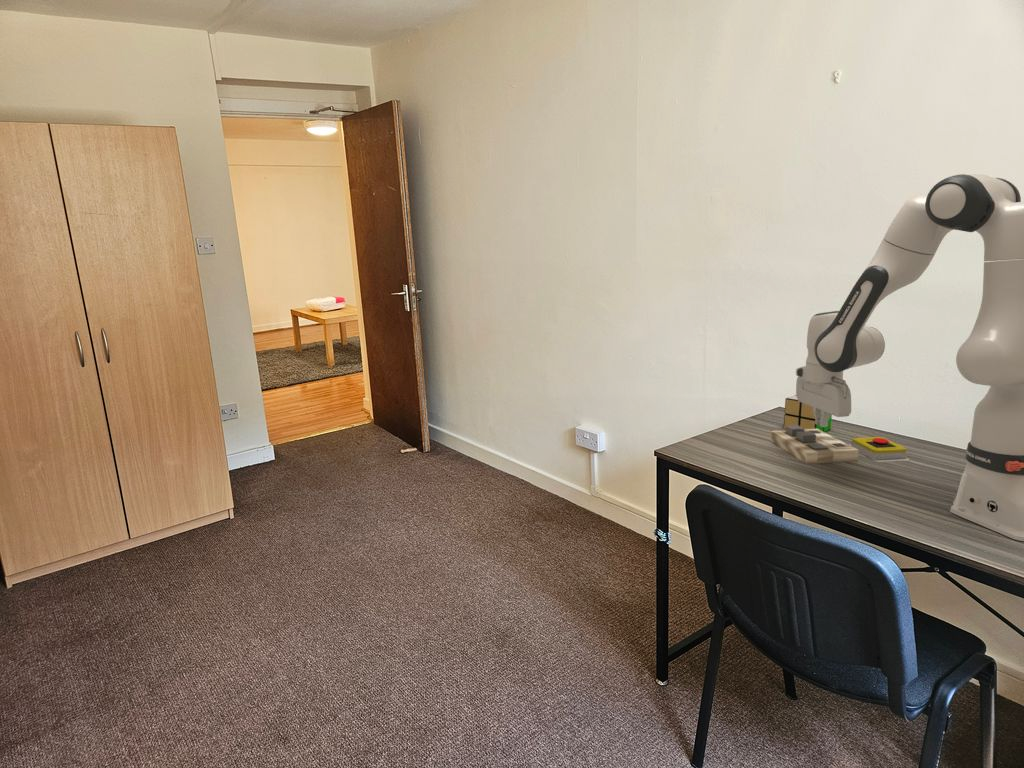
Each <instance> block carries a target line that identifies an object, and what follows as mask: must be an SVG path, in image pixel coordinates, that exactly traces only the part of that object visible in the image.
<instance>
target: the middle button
mask: <svg viewBox="0 0 1024 768" xmlns="http://www.w3.org/2000/svg"><path fill="white" fill-rule="evenodd" d="M796 440H797V441H799V442H801V443H815V442H816V435H815V434H813V433H811V432H810V431H804V432H797V433H796Z"/></svg>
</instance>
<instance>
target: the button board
mask: <svg viewBox="0 0 1024 768" xmlns="http://www.w3.org/2000/svg"><path fill="white" fill-rule="evenodd" d="M785 431H786V430H784V429H782V430H770V442H772V443H773V444H775V445H776V446H778V447H779V448H781V449H782V450H784V451H785V452H787V453H789V454H790V455H792V456H793V457H795V459H798V460H800V461H801V462H803V463H804V464H807V465H808V464H826V463H828V464H829V463H830V464H831V463H844V462H858V461H859V454H860V453H859V450H858V449H856V448H854V447H852V446H850V445H848V444H847V443H846V442H844V441H843V440H840V439H838V438H837V437H835V436H833V435H831V434H828V433H827V432H826V431H825V432H823V431H821V430H819V429H804V431H810V432H811V433H813V434H815V435H816V442H815V443H801V442H799V441H797V440H796V437H791V436H789V435H787V434H785ZM818 443H821V444H822V445H824V446H826V447H828V449H826V450H813V449H811V448H809V447H808V446H807V445H808V444H818Z"/></svg>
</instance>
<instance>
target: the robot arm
mask: <svg viewBox="0 0 1024 768" xmlns="http://www.w3.org/2000/svg"><path fill="white" fill-rule="evenodd" d="M1021 199H1022V198H1021V193H1020V191H1019V189H1018V188H1017V186H1016V185H1015V184H1014V183H1012V182H1010V181H1008V180H1007V179H1005V178H1000V177H993V176H990V175H989V176H988V175H987V174H986V175H985V174H963V173H961V174H955V175H951V176H948V177H946V178H944V179H941V180H940V181H938V182H937V183H936V184H934V186H933V187H931V189H930V190H929V192H928V194H922V195H921V194H920V195H915V196H913V197H911V198H909V199H908V200H906V201H905V202H904V204H903V205H902V207H901V208H900V209H899V210H898V212H897V214H896V215H895V217H894V219H893V220H892V221H891V223H890V225H889V227H888V229H887V230H886V232H885V234H884V236H883V238H882V240H881V242H880V244H879V245H878V249H876V251H875V253H874V255H873V257H872V258H871V261H870V262H869V264H868V266H866V268H865V269H864V271H863V272H862V273H861V275H860V277H859V278H858V279H857V280H856V282H855V284H854V285H853V287H852V289H851V291H850V292H849V294H848V295H847V297H846V299H845V301H844V302H843V304H842V305H841V307H840V309H839V310H833V311H826V312H819V313H816V314H814V315H813V316H811V318H810V320H809V323H808V326H807V327H808V328H807V335H806V348H807V357H806V360H805V365H804V366H800V367H797V368H796V369H795V376H796V384H795V387H796V388H795V395H796V397H797V399H798V401H799V402H802V403H804V404H807V405H809V406H811V407H813V412H814V415H815V418H816V419H815V424H817V425H819V426H821V427H827V426H828V420H829V418H830V416H831V415H832V416H833V417H836V418H837V417H838V418H841V417H843V418H844V417H849V416H850V415H851V413H852V393H851V389H850V387H849V385H848V384H847V381H846V380H845V379H843V378H844V371H846V370H849V369H853V368H856V367H862V366H864V365H865V366H866V365H869V364H872V363H874V362H877V361H879V359H880V358H881V357H882V356H883V354H884V352H885V347H886V343H885V339H884V336H883V334H882V333H881V332H880V331H879V330H878V329H877V328H875V327H872V326H869V325H866V323H867V322H868V321H869V319H870V317H871V315H872V314H873V312H874V311H875V309H876V308H877V306H878V305H879V304H880V303H881V301H883V300H884V299H885V298H886V297H888V296H889V295H891V294H893V293H894V292H896V291H898V290H899V289H902V288H904V287H907V286H908V285H910V284H913V283H915V282H916V281H917V280H919V279H920V278H921V276H922V275H923V274H924V272H925V271H926V270H927V269H928V268H929V266H930V264H931V262H932V261H933V258H934V257H935V254H936V252H937V251H938V249H939V246H940V244H941V243H942V241H943V240H944V238H945V237H946V235H947V234H948V233H950V232H951V231H953V230H955V231H961V232H966V233H974V232H977V233H978V234H979V235H980V237H981V238H982V241H983V248H984V249H983V250H984V251H983V252H984V253H983V254H984V255H983V275H982V276H983V277H982V279H983V281H982V297H981V303H980V308H979V310H978V311H979V312H978V314H977V317H976V319H975V323H974V326H973V328H972V330H971V332H970V334H969V336H968V337H967V339H966V340H965V341H964V342H963V343H962V344H961V345H960V347H959V349H958V350H957V353H956V357H955V358H956V359H955V362H956V367H957V370H958V372H959V374H960V375H961V376H962V378H964V379H965V380H967V381H968V382H969V383H970V382H971V383H972V384H975V385H982V386H988V387H989V389H988V391H987V392H986V394H985V395H984V397H983V398H982V399H981V400H980V401H979V402H978V403H977V405H976V406H975V409H974V414H973V420H972V427H971V428H972V429H971V436H970V441H969V442H968V443H967V448H966V449H965V452H966V453H965V460H966V465H965V469H964V471H963V472H962V475H961V477H960V482H959V485H958V489H957V493H956V496H955V498H954V500H953V503H952V505H951V506H950V510H949V512H950V513H951V514H954V515H956V516H959V517H961V518H963V519H965V520H968V521H970V522H973V523H975V524H977V525H979V526H982V527H984V528H987V529H990V531H991V530H992V531H993V532H996V533H997V534H1001V535H1003V536H1006V537H1008V538H1010V539H1013V540H1015V541H1021V542H1024V201H1022V200H1021Z"/></svg>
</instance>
